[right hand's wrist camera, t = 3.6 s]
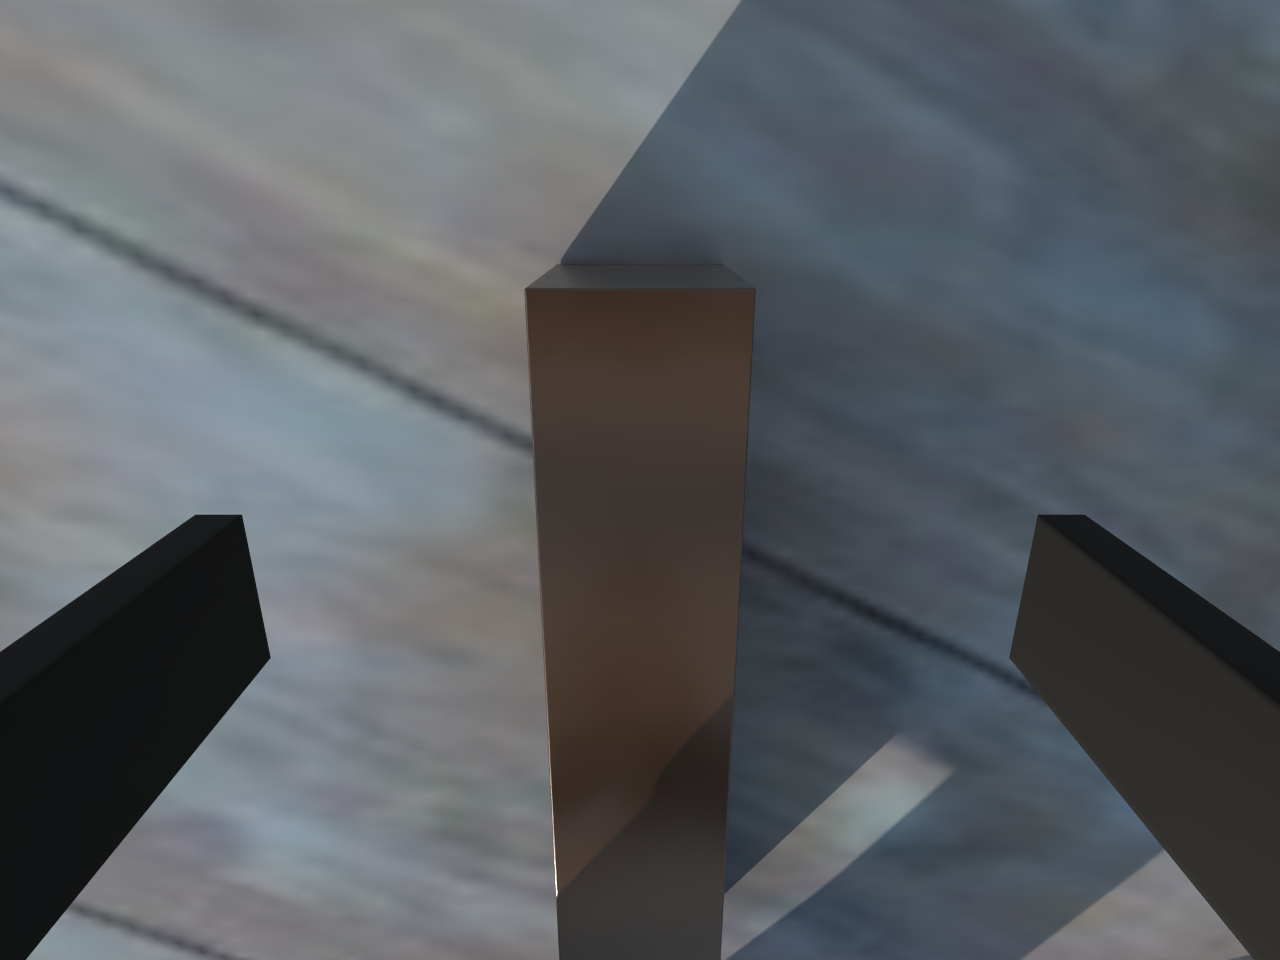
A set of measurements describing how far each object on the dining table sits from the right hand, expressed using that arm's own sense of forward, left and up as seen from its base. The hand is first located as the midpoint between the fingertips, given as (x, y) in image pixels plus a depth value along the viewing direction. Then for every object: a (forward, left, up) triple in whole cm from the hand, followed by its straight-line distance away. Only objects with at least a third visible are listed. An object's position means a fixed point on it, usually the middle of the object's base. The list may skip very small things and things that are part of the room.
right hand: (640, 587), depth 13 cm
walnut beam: (+12, 0, -17) cm, 21 cm away
